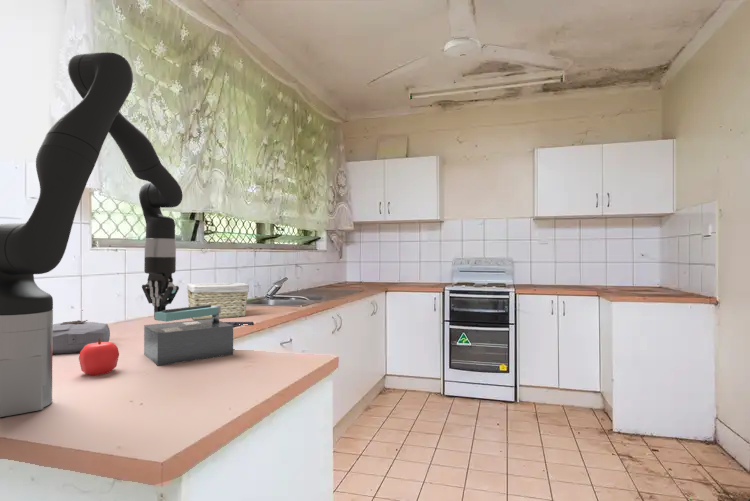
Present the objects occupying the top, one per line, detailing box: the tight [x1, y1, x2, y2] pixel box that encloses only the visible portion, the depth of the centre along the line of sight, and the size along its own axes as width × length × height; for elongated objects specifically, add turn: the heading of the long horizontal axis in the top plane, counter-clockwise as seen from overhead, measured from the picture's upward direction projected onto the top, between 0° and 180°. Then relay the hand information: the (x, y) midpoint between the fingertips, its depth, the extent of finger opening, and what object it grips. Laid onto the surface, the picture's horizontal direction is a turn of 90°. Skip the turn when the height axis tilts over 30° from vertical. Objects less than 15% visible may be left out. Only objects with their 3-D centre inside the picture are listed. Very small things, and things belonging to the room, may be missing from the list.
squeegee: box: [223, 321, 254, 328], centre depth 162 cm, size 14×15×3 cm
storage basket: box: [186, 282, 250, 320], centre depth 190 cm, size 24×16×15 cm
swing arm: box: [154, 305, 221, 323], centre depth 119 cm, size 18×5×3 cm, turn 149°
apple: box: [78, 338, 120, 376], centre depth 101 cm, size 8×8×8 cm
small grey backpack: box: [52, 319, 111, 355], centre depth 125 cm, size 15×8×20 cm
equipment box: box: [143, 313, 234, 367], centre depth 119 cm, size 16×19×10 cm
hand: (159, 320), depth 116 cm, fingers closed
